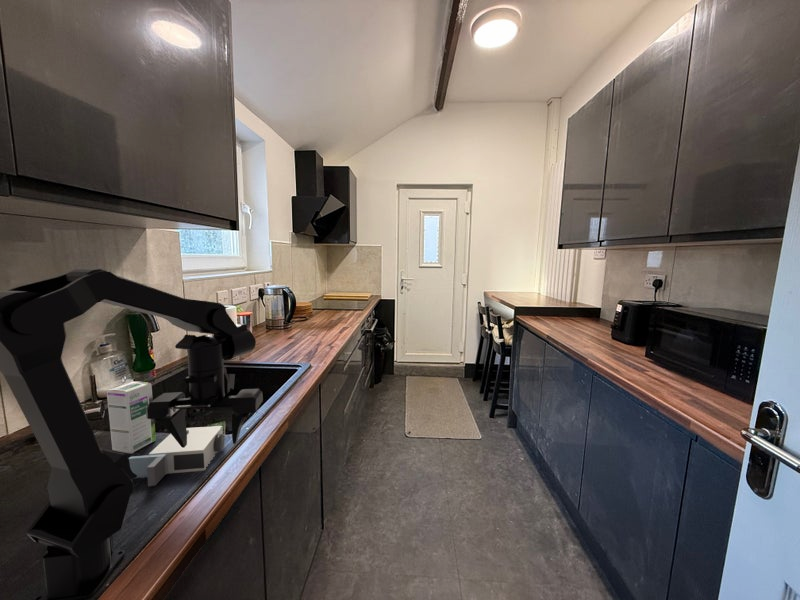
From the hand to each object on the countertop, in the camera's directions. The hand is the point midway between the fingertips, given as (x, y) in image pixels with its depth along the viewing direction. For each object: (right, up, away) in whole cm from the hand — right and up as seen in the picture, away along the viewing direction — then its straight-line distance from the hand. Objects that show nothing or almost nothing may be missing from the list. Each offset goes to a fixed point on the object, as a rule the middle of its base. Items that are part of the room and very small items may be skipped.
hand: (210, 444), depth 62 cm
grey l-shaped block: (-12, -7, -1) cm, 14 cm away
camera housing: (-9, -6, +7) cm, 13 cm away
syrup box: (-25, -6, +12) cm, 28 cm away
